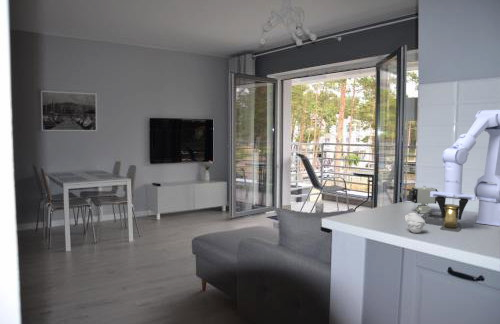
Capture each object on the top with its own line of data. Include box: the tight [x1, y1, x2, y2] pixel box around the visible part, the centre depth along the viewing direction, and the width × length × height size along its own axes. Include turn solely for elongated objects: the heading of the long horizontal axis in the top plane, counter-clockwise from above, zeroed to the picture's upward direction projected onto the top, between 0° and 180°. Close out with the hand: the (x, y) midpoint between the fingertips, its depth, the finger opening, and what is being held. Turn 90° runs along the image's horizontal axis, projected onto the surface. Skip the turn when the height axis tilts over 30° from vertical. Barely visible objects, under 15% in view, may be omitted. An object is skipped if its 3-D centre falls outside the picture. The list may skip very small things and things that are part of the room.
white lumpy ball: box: [404, 212, 426, 234], centre depth 137 cm, size 6×7×7 cm
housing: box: [420, 211, 444, 227], centre depth 155 cm, size 14×10×2 cm
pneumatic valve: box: [408, 185, 440, 215], centre depth 171 cm, size 6×12×12 cm, turn 89°
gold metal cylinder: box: [444, 203, 459, 228], centre depth 143 cm, size 5×5×8 cm
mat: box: [439, 225, 462, 233], centre depth 143 cm, size 6×6×1 cm
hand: (451, 218), depth 142 cm, fingers closed on gold metal cylinder, 5 cm apart
